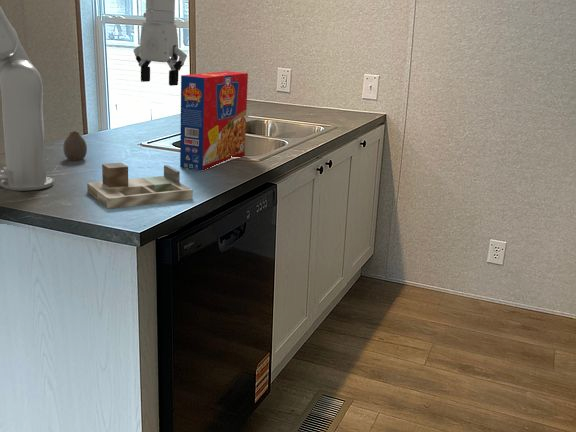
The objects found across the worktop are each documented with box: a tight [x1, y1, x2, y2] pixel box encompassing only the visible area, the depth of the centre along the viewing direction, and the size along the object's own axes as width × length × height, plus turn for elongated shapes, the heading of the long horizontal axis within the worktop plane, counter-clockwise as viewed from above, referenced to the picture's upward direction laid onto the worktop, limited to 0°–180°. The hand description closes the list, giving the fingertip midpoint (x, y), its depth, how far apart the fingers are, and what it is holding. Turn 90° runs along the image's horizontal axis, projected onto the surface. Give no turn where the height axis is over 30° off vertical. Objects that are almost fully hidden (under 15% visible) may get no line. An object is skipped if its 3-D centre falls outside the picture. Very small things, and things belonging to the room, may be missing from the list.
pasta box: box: [179, 70, 249, 171], centre depth 202 cm, size 28×8×28 cm, turn 157°
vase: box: [62, 130, 88, 162], centre depth 196 cm, size 7×7×9 cm
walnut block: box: [101, 162, 129, 188], centre depth 162 cm, size 5×5×5 cm
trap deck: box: [86, 164, 194, 210], centre depth 162 cm, size 22×16×6 cm
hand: (159, 83), depth 173 cm, fingers open, 9 cm apart
